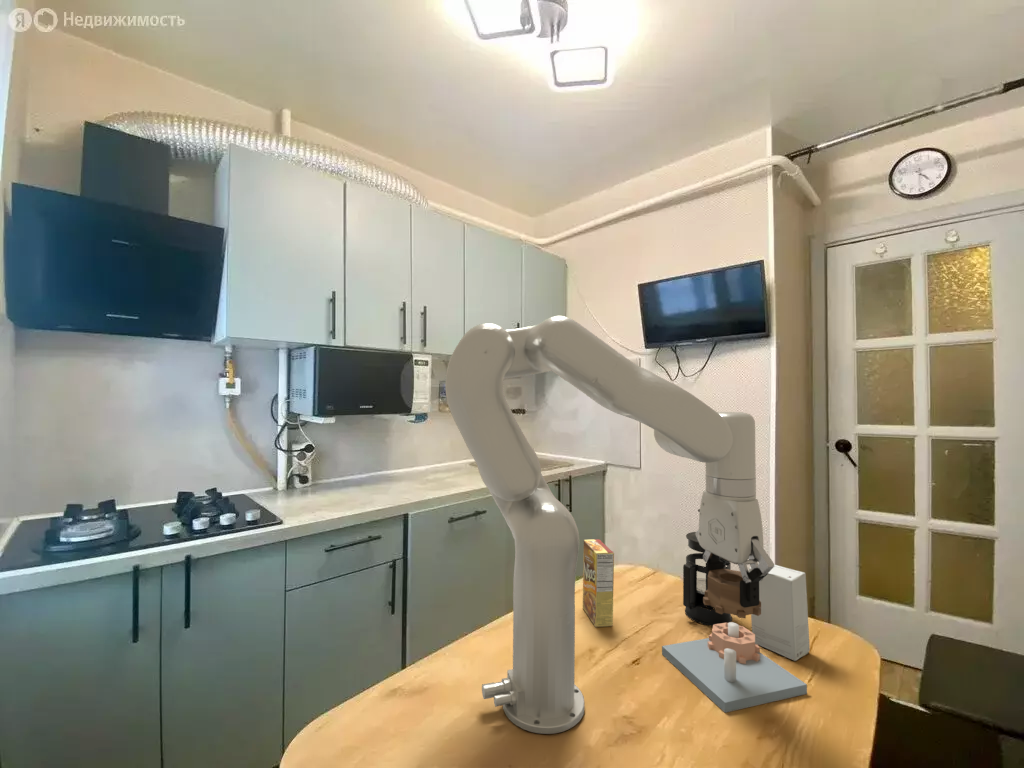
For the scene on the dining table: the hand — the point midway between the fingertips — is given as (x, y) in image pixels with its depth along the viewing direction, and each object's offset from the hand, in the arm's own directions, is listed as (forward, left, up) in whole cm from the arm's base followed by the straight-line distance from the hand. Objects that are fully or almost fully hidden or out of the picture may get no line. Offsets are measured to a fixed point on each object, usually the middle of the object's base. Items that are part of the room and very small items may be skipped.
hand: (731, 594), depth 75 cm
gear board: (+3, +4, -15) cm, 16 cm away
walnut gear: (0, 0, -2) cm, 2 cm away
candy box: (-10, +28, -16) cm, 33 cm away
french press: (+13, +22, -16) cm, 30 cm away
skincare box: (+18, +8, -16) cm, 25 cm away
